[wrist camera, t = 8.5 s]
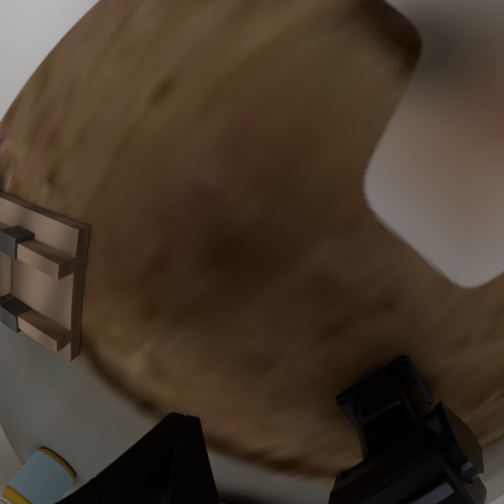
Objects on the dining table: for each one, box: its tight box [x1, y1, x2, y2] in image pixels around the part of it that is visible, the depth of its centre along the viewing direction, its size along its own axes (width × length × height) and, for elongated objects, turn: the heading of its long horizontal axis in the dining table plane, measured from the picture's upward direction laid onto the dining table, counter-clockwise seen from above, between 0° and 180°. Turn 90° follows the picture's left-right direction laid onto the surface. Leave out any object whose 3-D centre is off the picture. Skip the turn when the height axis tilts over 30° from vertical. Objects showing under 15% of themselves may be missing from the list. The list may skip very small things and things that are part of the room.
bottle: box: [0, 449, 75, 504], centre depth 23 cm, size 7×7×15 cm
